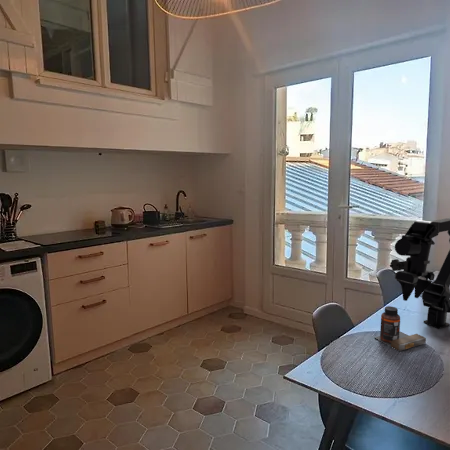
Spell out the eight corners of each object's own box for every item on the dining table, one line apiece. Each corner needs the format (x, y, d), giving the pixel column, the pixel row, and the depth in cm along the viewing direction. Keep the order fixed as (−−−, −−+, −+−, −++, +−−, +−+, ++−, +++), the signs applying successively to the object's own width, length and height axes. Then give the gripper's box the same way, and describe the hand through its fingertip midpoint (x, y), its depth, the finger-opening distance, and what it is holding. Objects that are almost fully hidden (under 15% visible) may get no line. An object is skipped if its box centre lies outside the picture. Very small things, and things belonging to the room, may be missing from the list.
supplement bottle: (400, 344, 125) (403, 312, 123) (381, 343, 126) (383, 311, 124) (396, 336, 131) (398, 305, 129) (378, 335, 132) (380, 304, 130)
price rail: (416, 339, 129) (416, 333, 129) (426, 344, 125) (426, 338, 125) (390, 347, 124) (391, 340, 124) (400, 352, 120) (401, 345, 120)
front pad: (399, 331, 135) (399, 330, 135) (416, 339, 129) (416, 338, 129) (374, 338, 130) (374, 337, 130) (390, 347, 124) (390, 346, 124)
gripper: (407, 250, 143) (400, 290, 145) (384, 251, 131) (376, 294, 133) (438, 257, 135) (430, 299, 137) (417, 259, 123) (407, 305, 124)
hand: (410, 299), depth 133 cm, fingers open, 9 cm apart
